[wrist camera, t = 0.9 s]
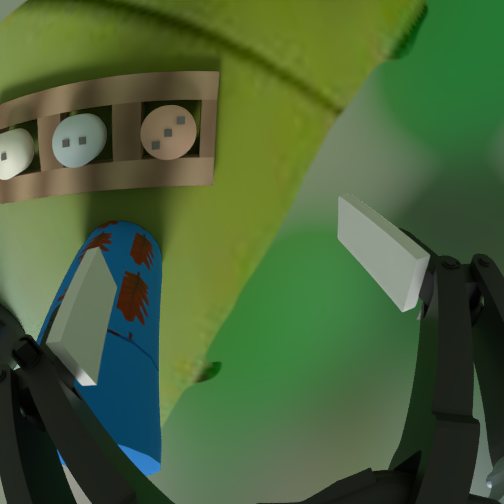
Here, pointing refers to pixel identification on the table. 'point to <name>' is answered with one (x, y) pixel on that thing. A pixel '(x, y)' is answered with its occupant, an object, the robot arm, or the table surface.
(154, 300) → the thermos
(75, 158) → the button two
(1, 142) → the button one
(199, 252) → the table surface
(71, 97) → the board
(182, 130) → the button three
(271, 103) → the table surface
